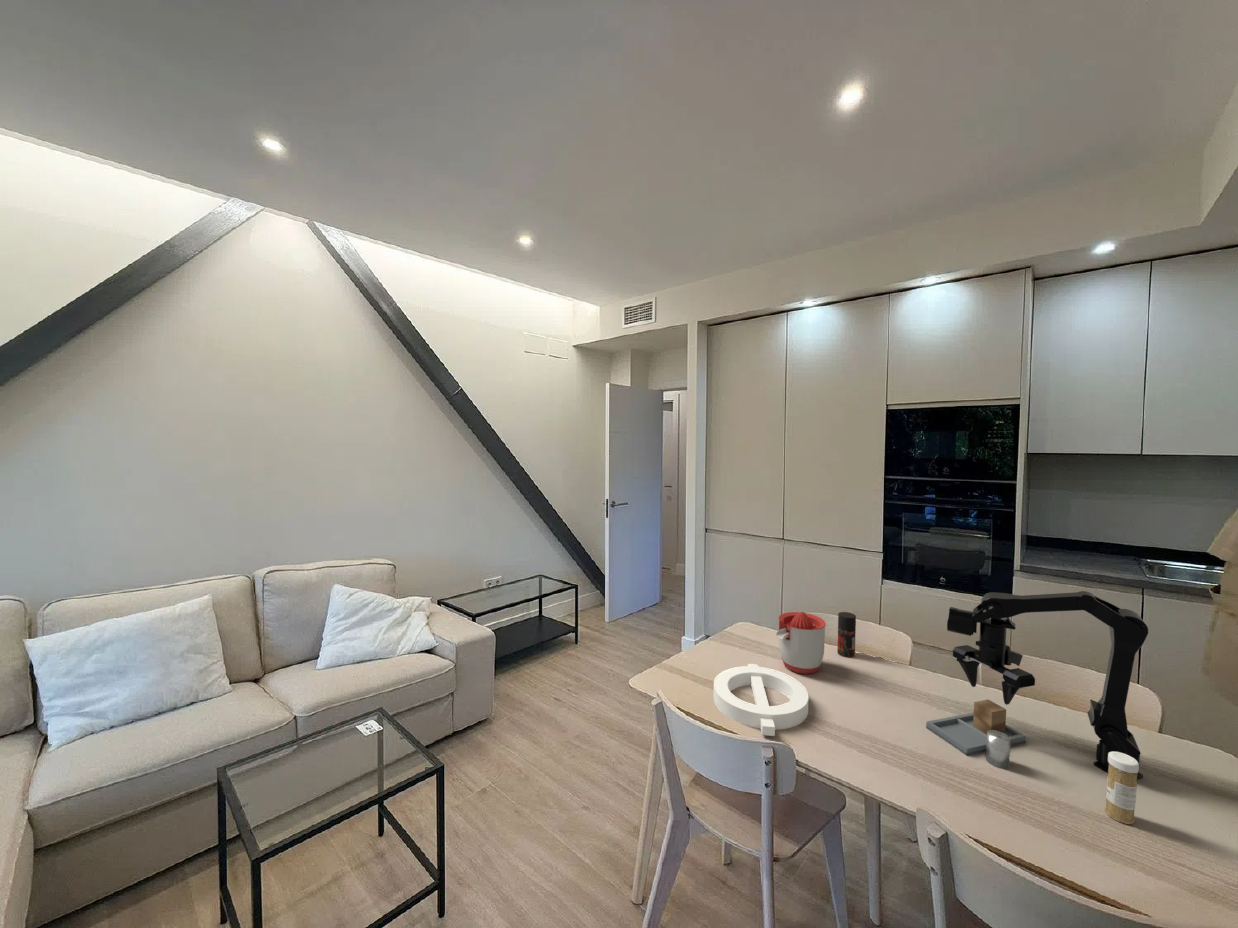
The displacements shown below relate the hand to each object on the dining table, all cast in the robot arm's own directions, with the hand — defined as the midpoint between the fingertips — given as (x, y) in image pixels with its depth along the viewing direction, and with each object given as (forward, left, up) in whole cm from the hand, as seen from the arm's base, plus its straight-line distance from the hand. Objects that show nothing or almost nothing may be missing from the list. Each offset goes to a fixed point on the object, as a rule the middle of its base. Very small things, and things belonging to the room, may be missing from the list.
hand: (989, 694), depth 133 cm
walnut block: (0, 0, -10) cm, 10 cm away
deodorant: (+50, +5, -11) cm, 51 cm away
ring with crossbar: (+30, +53, -11) cm, 62 cm away
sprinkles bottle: (-30, +2, -11) cm, 32 cm away
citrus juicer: (+46, +28, -11) cm, 55 cm away
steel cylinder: (-10, +10, -11) cm, 18 cm away
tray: (0, +5, -11) cm, 12 cm away
